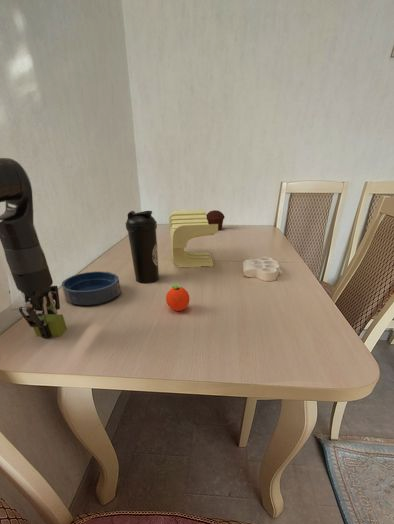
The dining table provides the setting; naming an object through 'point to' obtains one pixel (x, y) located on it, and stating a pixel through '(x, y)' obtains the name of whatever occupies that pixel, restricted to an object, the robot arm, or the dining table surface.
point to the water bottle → (143, 245)
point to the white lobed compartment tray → (262, 268)
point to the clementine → (177, 298)
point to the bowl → (91, 288)
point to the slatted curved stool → (189, 236)
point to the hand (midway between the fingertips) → (51, 332)
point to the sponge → (53, 325)
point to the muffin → (215, 218)
